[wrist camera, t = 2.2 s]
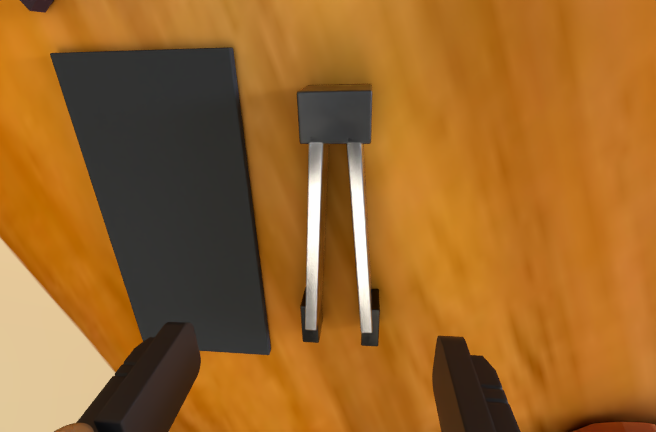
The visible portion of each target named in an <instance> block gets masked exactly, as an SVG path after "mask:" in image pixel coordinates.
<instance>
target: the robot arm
mask: <svg viewBox="0 0 656 432" xmlns="http://www.w3.org/2000/svg"><path fill="white" fill-rule="evenodd" d="M200 363H201V357H200V352H199V348H198V343H197V339H196V335H195V331H194V327H193V325H192V323H186V322H167V323H165V324H164V326H163V327H162V328H161V330H160V331H159V332H158V334H157V335H156V336H155V337H149V338H148V339H146V340H145V341H144V342H142V343H141V344H140V345H138V346H137V347H136V348H134V350H133V351H132V352H131V354H130V355H129V356H128V357H127V359H126V360H125V361H124V364H123V365H121V366H120V368H119V369H118V370H117V371H116V373H115V376H113V377H112V378H111V379H110V380H109V382H108V383H107V384H106V386H105V387H104V388H103V390H102V391H101V392H100V393H99V395H98V396H97V397H96V398H95V400H94V401H93V402H92V404H91V405H90V406H89V407H88V409H87V410H86V411H85V413H84V414H83V415H82V416H81V418H80V419H79V420H78V421H77V422H76V423H73V424H69V425H66V426H64V427H62V428H60V429H58V430H56V431H54V432H168V431H169V429H170V428H171V426H172V424H173V422H174V420H175V418H176V416H177V414H178V412H179V410H180V408H181V406H182V404H183V403H184V401H185V399H186V397H187V395H188V393H189V391H190V389H191V387H192V385H193V383H194V381H195V379H196V378H197V375H198V373H199V369H200ZM432 378H433V391H434V396H435V401H436V406H437V411H438V416H439V421H440V426H441V431H442V432H520V430H519V427H518V425H517V422H516V420H515V417H514V415H513V412H512V410H511V407H510V405H509V404H508V402H507V398H506V395H505V393H504V390H502V385H501V383H500V380H499V378H498V375H497V373H496V371H495V369H494V368H493V367H492V366H491V365H490V364H489V363H488V361H487V360H486V359H485V358H484V357H483V356H476V355H470V353H469V350H468V347H467V344H466V341H465V339H464V338H463V337H453V336H438V337H437V343H436V350H435V357H434V365H433V375H432Z"/></svg>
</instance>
